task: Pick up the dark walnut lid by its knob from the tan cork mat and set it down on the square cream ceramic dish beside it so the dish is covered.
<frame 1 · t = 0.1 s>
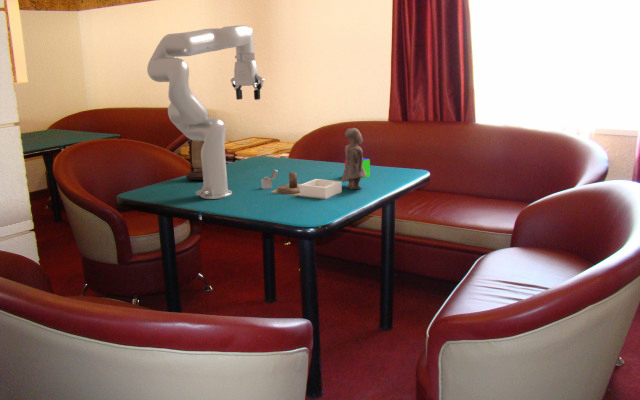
hand: (248, 99, 239), 37 cm above the table, tool pointing down, fingers open, 9 cm apart
dish: (321, 195, 223), on the table
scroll: (202, 179, 263), on the table
mat: (293, 191, 231), on the table
lid: (293, 190, 231), point 1 cm above the table, touching mat
lighter: (270, 189, 238), on the table
clay figurine: (354, 188, 233), on the table
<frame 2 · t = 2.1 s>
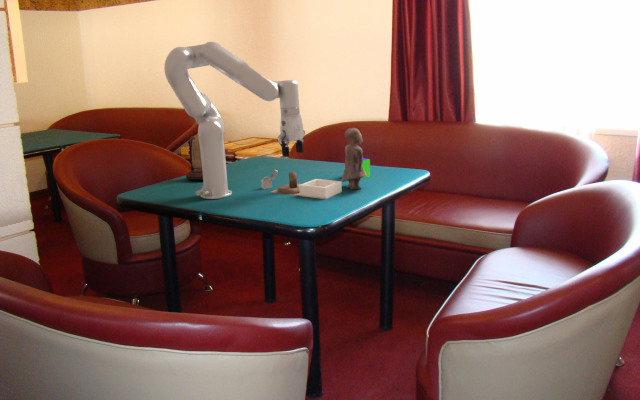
hand: (293, 154, 228), 15 cm above the table, tool pointing down, fingers open, 9 cm apart
nothing on the table moved.
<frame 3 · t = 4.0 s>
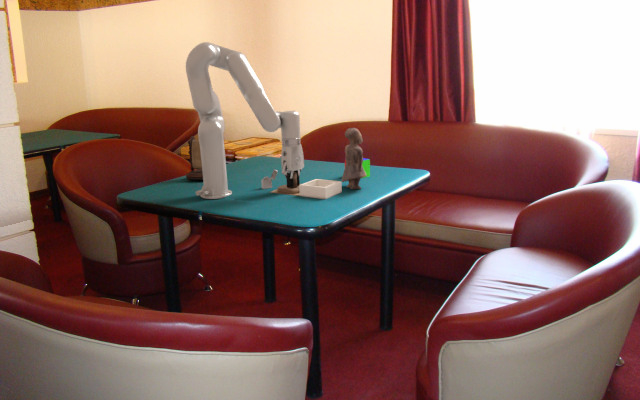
hand: (293, 186, 231), 2 cm above the table, tool pointing down, fingers closed on lid, 3 cm apart
lid: (293, 190, 231), point 1 cm above the table, touching gripper, mat
everything else where it was.
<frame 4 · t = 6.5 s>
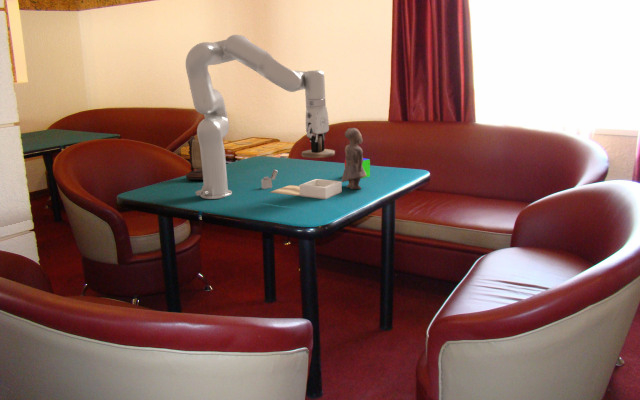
hand: (318, 150, 219), 18 cm above the table, tool pointing down, fingers closed on lid, 3 cm apart
lid: (318, 154, 220), point 16 cm above the table, touching gripper
everything else where it was.
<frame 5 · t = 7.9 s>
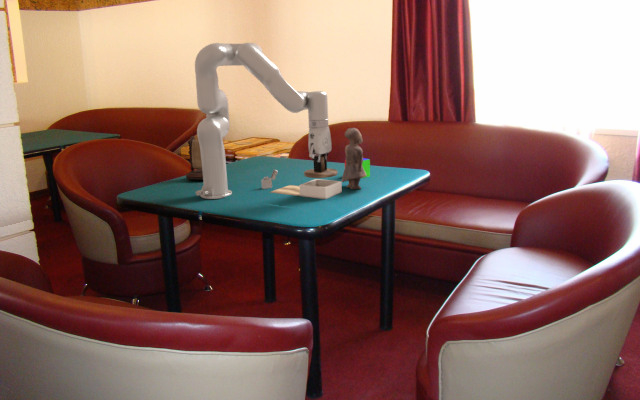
hand: (320, 170, 221), 10 cm above the table, tool pointing down, fingers closed on lid, 3 cm apart
lid: (320, 174, 221), point 8 cm above the table, touching gripper
everything else where it was.
when the fingers open (8 cm above the table, at t = 9.0 s): lid drops 1 cm, resting on dish.
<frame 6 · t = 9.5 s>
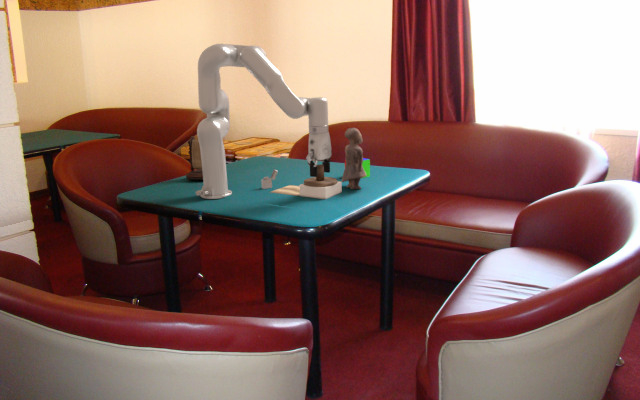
hand: (320, 174, 221), 9 cm above the table, tool pointing down, fingers open, 8 cm apart
lid: (320, 183, 222), point 5 cm above the table, touching dish
everything else where it was.
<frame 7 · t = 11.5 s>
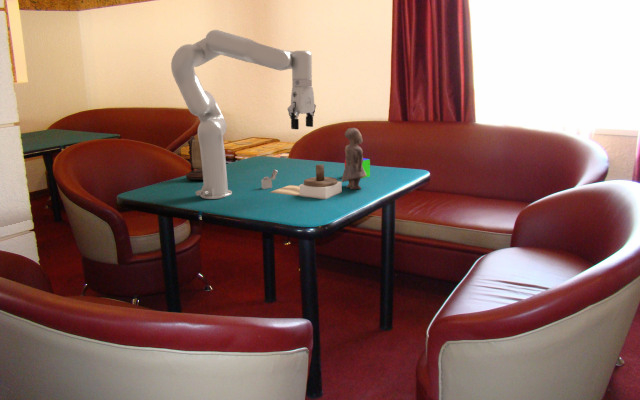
hand: (302, 127, 222), 26 cm above the table, tool pointing down, fingers open, 9 cm apart
nothing on the table moved.
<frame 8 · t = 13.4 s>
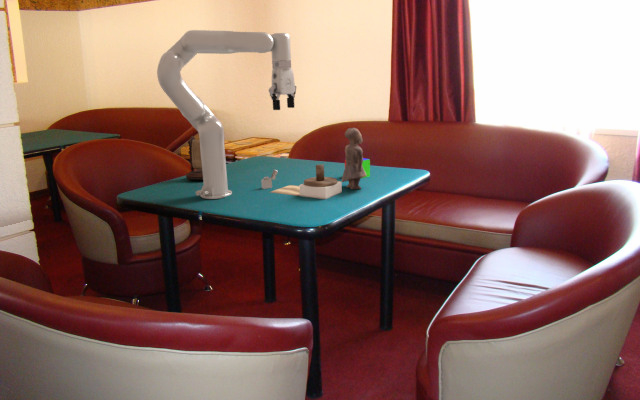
hand: (283, 108, 228), 33 cm above the table, tool pointing down, fingers open, 9 cm apart
nothing on the table moved.
at the end: lid 0.1 cm off-centre on the dish, point 5.0 cm above the dish's base; lid tilted 0°; the gripper is holding nothing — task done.
